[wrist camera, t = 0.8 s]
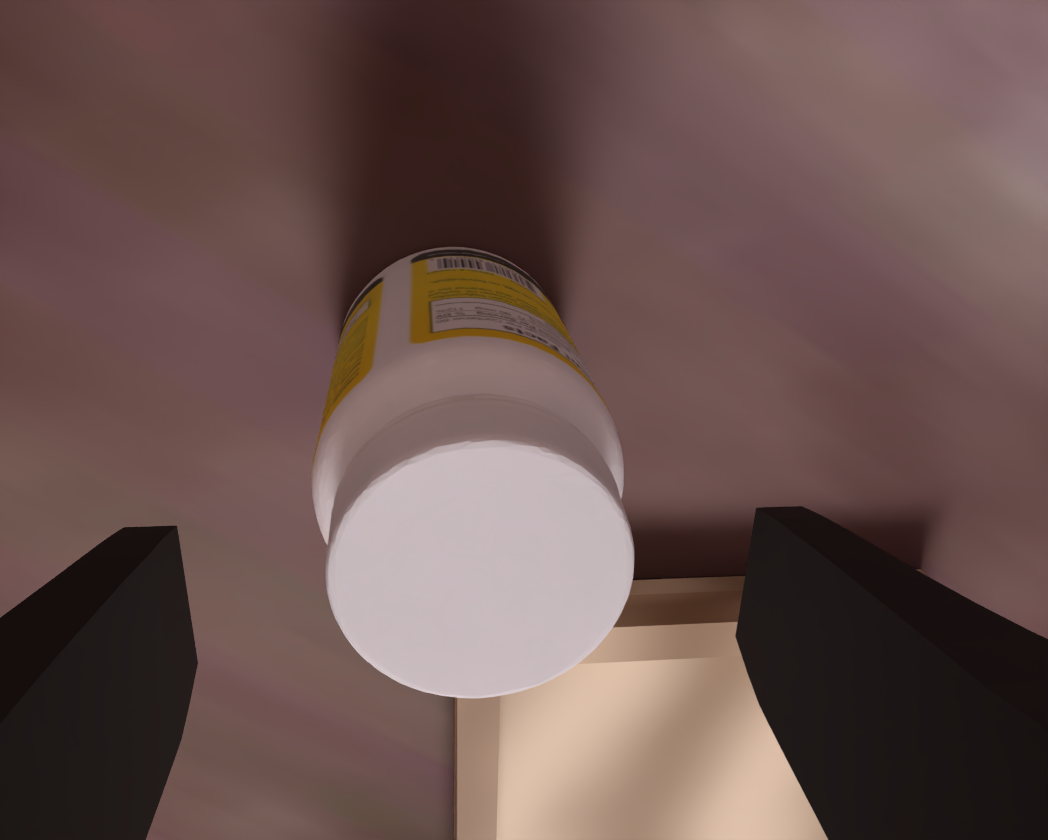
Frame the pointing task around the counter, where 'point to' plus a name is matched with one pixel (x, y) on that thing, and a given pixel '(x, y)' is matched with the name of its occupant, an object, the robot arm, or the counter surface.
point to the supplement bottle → (468, 482)
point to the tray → (634, 737)
